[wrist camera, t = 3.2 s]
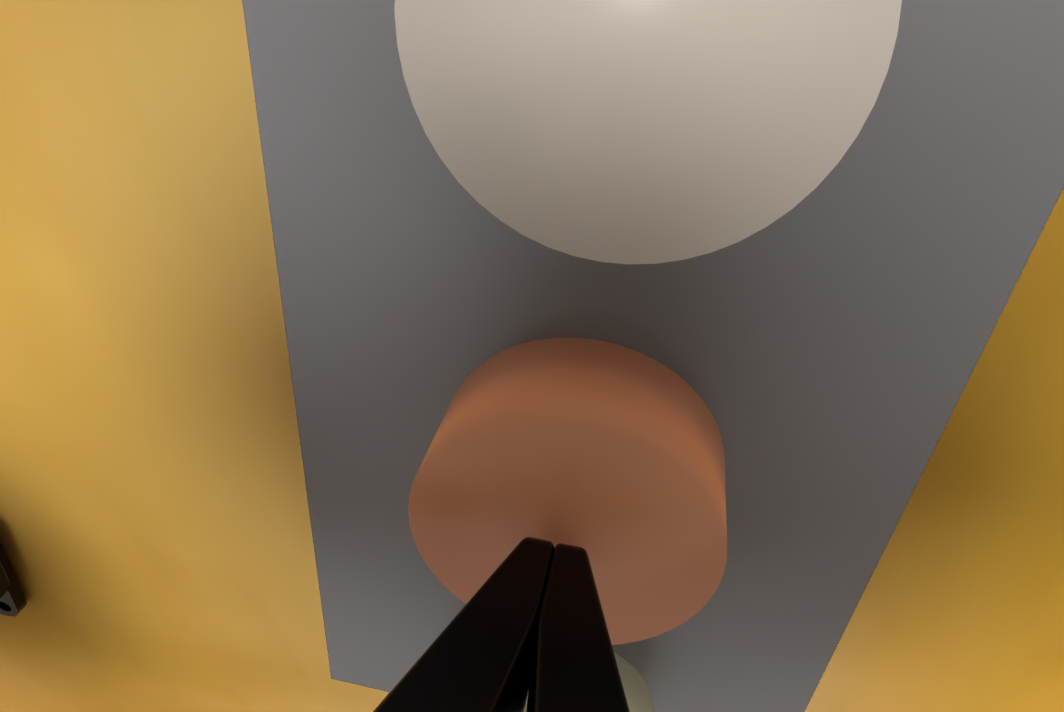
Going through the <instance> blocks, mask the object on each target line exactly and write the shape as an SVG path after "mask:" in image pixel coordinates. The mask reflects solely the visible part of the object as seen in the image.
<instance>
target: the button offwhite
mask: <svg viewBox="0 0 1064 712" xmlns="http://www.w3.org/2000/svg"><path fill="white" fill-rule="evenodd" d="M901 3H902V0H395V8H394V13H395V25H396V37H397V47H398V52H399V57H400V61H401V66H402V71H403V76H404V80H405V83H406V86H407V89H408V92H409V95H410V98H411V101H412V104H413V107H414V109H415V112H416V114H417V116H418V118H419V120H420V123H421V125H422V127H423V129H424V131H425V134H426V135H427V137H428V139H429V140H430V142H431V144H432V145H433V147H434V149H435V150H436V152H437V154H438V155H439V157H440V159H441V160H442V162H443V163H444V164H445V165H446V167H447V168H448V169H449V171H450V172H451V173H452V174H453V176H454V177H455V178H456V180H457V181H458V182H459V183H460V184H461V185H462V186H463V188H464V189H465V190H466V191H467V192H468V193H469V194H470V195H471V196H472V197H473V198H474V199H475V200H476V201H477V202H478V203H479V204H480V205H482V206H483V207H484V208H485V209H487V210H488V211H489V212H490V213H491V214H493V215H494V216H495V217H496V218H498V219H499V220H500V221H502V222H503V223H505V224H506V225H508V226H509V227H511V228H513V229H514V230H516V231H517V232H519V233H520V234H522V235H524V236H526V237H528V238H530V239H532V240H534V241H536V242H538V243H540V244H542V245H544V246H547V247H549V248H552V249H555V250H558V251H560V252H563V253H566V254H569V255H572V256H576V257H580V258H585V259H590V260H594V261H599V262H607V263H618V264H658V263H665V262H672V261H679V260H685V259H689V258H693V257H697V256H700V255H704V254H708V253H712V252H714V251H717V250H719V249H722V248H724V247H727V246H729V245H732V244H735V243H737V242H740V241H741V240H743V239H745V238H747V237H749V236H751V235H753V234H754V233H756V232H758V231H760V230H762V229H764V228H766V227H767V226H769V225H770V224H772V223H773V222H774V221H776V220H777V219H779V218H780V217H782V216H783V215H784V214H786V213H787V212H789V211H790V210H792V209H793V208H794V207H795V206H796V205H797V204H798V203H800V202H801V201H802V200H803V199H804V198H805V197H806V196H808V195H809V194H810V193H811V192H812V191H813V190H814V189H815V188H816V187H817V186H818V185H819V184H820V183H821V182H822V181H823V180H824V179H825V177H826V176H827V175H828V174H829V173H830V172H831V171H832V170H833V169H834V167H835V166H836V165H837V164H838V163H839V161H840V160H841V159H842V157H843V156H844V154H845V153H846V152H847V150H848V149H849V147H850V146H851V144H852V143H853V142H854V140H855V139H856V137H857V136H858V134H859V132H860V131H861V129H862V127H863V125H864V123H865V121H866V119H867V118H868V116H869V114H870V112H871V110H872V108H873V107H874V105H875V102H876V100H877V97H878V95H879V92H880V90H881V87H882V85H883V82H884V80H885V77H886V75H887V72H888V69H889V65H890V61H891V57H892V54H893V50H894V46H895V42H896V38H897V34H898V27H899V19H900V11H901Z"/></svg>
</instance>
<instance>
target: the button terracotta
mask: <svg viewBox="0 0 1064 712" xmlns="http://www.w3.org/2000/svg"><path fill="white" fill-rule="evenodd" d="M408 515H409V524H410V529H411V532H412V536H413V539H414V542H415V544H416V546H417V549H418V551H419V553H420V555H421V557H422V558H423V560H424V561H425V563H426V565H427V566H428V568H429V569H430V570H431V572H432V573H433V574H434V575H435V576H436V578H437V579H438V580H439V581H440V582H441V583H442V584H443V585H444V586H445V587H446V588H447V589H448V590H449V591H450V592H451V593H452V594H453V595H455V596H456V597H457V598H458V599H459V600H461V601H462V602H463V603H464V604H467V603H468V601H469V600H470V599H471V598H472V597H473V596H474V594H475V593H476V592H477V591H478V590H479V589H480V588H481V586H482V585H483V584H484V583H485V582H486V581H487V579H488V578H489V577H490V576H491V575H492V574H493V573H494V571H495V570H496V569H497V568H498V567H499V566H500V564H501V563H502V562H503V561H504V560H505V559H506V557H507V556H508V555H509V554H510V553H511V552H512V551H513V549H514V548H515V547H516V546H517V545H518V544H519V542H520V541H521V540H522V539H524V538H526V537H533V538H538V539H543V540H548V541H551V542H552V543H553V544H554V548H555V546H556V545H557V544H559V543H563V544H568V545H573V546H578V547H582V548H584V549H585V550H586V552H587V554H588V557H589V561H590V565H591V568H592V572H593V576H594V580H595V583H596V587H597V591H598V595H599V598H600V602H601V606H602V610H603V613H604V617H605V621H606V625H607V628H608V632H609V636H610V640H611V643H612V645H617V644H625V643H631V642H636V641H641V640H644V639H648V638H651V637H655V636H658V635H660V634H663V633H665V632H667V631H670V630H672V629H674V628H676V627H677V626H679V625H681V624H683V623H684V622H686V621H687V620H689V619H690V618H691V617H693V616H694V615H695V614H697V613H698V612H699V611H700V610H701V609H702V608H703V607H704V606H705V605H706V604H707V603H708V602H709V600H710V599H711V597H712V596H713V594H714V593H715V591H716V590H717V588H718V586H719V584H720V581H721V579H722V577H723V574H724V570H725V565H726V561H727V525H726V489H725V454H724V448H723V441H722V437H721V434H720V431H719V428H718V425H717V423H716V421H715V419H714V417H713V415H712V413H711V412H710V410H709V408H708V407H707V405H706V404H705V403H704V401H703V400H702V399H701V397H700V396H699V395H698V394H697V393H696V392H695V390H694V389H693V388H692V387H691V386H690V385H689V384H688V383H687V382H686V381H685V380H683V379H682V378H681V377H680V376H678V375H677V374H676V373H675V372H673V371H672V370H671V369H669V368H667V367H666V366H664V365H663V364H661V363H659V362H658V361H656V360H655V359H653V358H650V357H648V356H646V355H644V354H642V353H640V352H638V351H635V350H632V349H629V348H627V347H624V346H621V345H618V344H614V343H609V342H605V341H600V340H595V339H586V338H549V339H541V340H535V341H531V342H527V343H523V344H519V345H516V346H514V347H511V348H508V349H506V350H503V351H501V352H499V353H498V354H496V355H494V356H492V357H490V358H488V359H487V360H486V361H484V362H483V363H482V364H480V365H479V366H478V367H476V368H475V369H474V370H473V371H472V372H471V373H470V374H469V375H468V376H467V377H466V378H465V379H464V381H463V382H462V384H461V385H460V386H459V388H458V389H457V391H456V392H455V395H454V397H453V399H452V401H451V403H450V405H449V407H448V409H447V411H446V413H445V416H444V418H443V420H442V422H441V424H440V426H439V428H438V430H437V432H436V434H435V436H434V439H433V441H432V443H431V445H430V447H429V449H428V451H427V453H426V455H425V457H424V460H423V462H422V464H421V466H420V468H419V470H418V472H417V474H416V477H415V479H414V481H413V483H412V487H411V491H410V495H409V504H408Z"/></svg>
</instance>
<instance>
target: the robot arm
mask: <svg viewBox="0 0 1064 712" xmlns="http://www.w3.org/2000/svg"><path fill="white" fill-rule="evenodd" d="M26 604H27V602H26V599H25V597H24V594H23V592H22V590H21V588H20V586H19V584H18V582H17V580H16V578H15V575H14V573H13V571H12V569H11V567H10V565H9V563H8V561H7V559H6V556H5V554H4V552H3V550H2V548H1V546H0V614H3V615H7V616H16V615H17V614H18V613H19V612H20V611H21V610H22V609H23V608H24V607H25V606H26ZM528 692H529V693H528ZM527 697H528V701H527ZM526 701H527V709H526V712H630V711H629V707H628V703H627V700H626V696H625V692H624V688H623V685H622V681H621V677H620V673H619V670H618V666H617V662H616V658H615V655H614V651H613V647H612V643H611V640H610V636H609V632H608V628H607V625H606V621H605V617H604V613H603V610H602V606H601V602H600V598H599V595H598V591H597V587H596V583H595V580H594V576H593V572H592V568H591V565H590V561H589V557H588V554H587V552H586V550H585V549H584V548H582V547H578V546H573V545H568V544H563V543H559V544H557V545H556V546H555V548H554V544H553V543H552V542H551V541H548V540H543V539H538V538H533V537H526V538H524V539H522V540H521V541H520V542H519V544H518V545H517V546H516V547H515V548H514V549H513V551H512V552H511V553H510V554H509V555H508V556H507V557H506V559H505V560H504V561H503V562H502V563H501V564H500V566H499V567H498V568H497V569H496V570H495V571H494V573H493V574H492V575H491V576H490V577H489V578H488V579H487V581H486V582H485V583H484V584H483V585H482V586H481V588H480V589H479V590H478V591H477V592H476V593H475V594H474V596H473V597H472V598H471V599H470V600H469V601H468V603H467V604H466V605H465V606H464V607H463V608H462V609H461V611H460V612H459V613H458V614H457V615H456V616H455V618H454V619H453V620H452V621H451V622H450V623H449V624H448V626H447V627H446V628H445V629H444V630H443V631H442V633H441V634H440V635H439V636H438V637H437V638H436V640H435V641H434V642H433V643H432V644H431V645H430V646H429V648H428V649H427V650H426V651H425V652H424V653H423V655H422V656H421V657H420V658H419V659H418V660H417V661H416V663H415V664H414V665H413V666H412V667H411V668H410V670H409V671H408V672H407V673H406V674H405V675H404V676H403V678H402V679H401V680H400V681H399V682H398V683H397V685H396V686H395V687H394V688H393V689H392V690H391V691H390V693H389V694H388V695H387V696H386V697H385V698H384V700H383V701H382V702H381V703H380V704H379V705H378V707H377V708H376V709H375V710H374V711H373V712H524V709H525V706H526Z"/></svg>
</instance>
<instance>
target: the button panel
mask: <svg viewBox="0 0 1064 712" xmlns="http://www.w3.org/2000/svg"><path fill="white" fill-rule="evenodd" d="M242 2H243V10H244V18H245V25H246V33H247V40H248V48H249V56H250V63H251V71H252V78H253V86H254V94H255V101H256V109H257V117H258V124H259V132H260V139H261V147H262V155H263V162H264V170H265V177H266V185H267V193H268V200H269V208H270V216H271V223H272V231H273V238H274V246H275V254H276V261H277V269H278V276H279V284H280V292H281V299H282V307H283V315H284V322H285V330H286V337H287V345H288V353H289V360H290V368H291V375H292V383H293V391H294V398H295V406H296V414H297V421H298V429H299V436H300V444H301V452H302V459H303V467H304V474H305V482H306V490H307V497H308V505H309V512H310V520H311V528H312V535H313V543H314V551H315V558H316V566H317V573H318V581H319V589H320V596H321V604H322V611H323V619H324V627H325V634H326V642H327V650H328V657H329V665H330V672H331V679H335V680H339V681H344V682H348V683H352V684H357V685H361V686H365V687H370V688H374V689H378V690H383V691H387V692H390V691H391V690H392V689H393V688H394V687H395V686H396V685H397V683H398V682H399V681H400V680H401V679H402V678H403V676H404V675H405V674H406V673H407V672H408V671H409V670H410V668H411V667H412V666H413V665H414V664H415V663H416V661H417V660H418V659H419V658H420V657H421V656H422V655H423V653H424V652H425V651H426V650H427V649H428V648H429V646H430V645H431V644H432V643H433V642H434V641H435V640H436V638H437V637H438V636H439V635H440V634H441V633H442V631H443V630H444V629H445V628H446V627H447V626H448V624H449V623H450V622H451V621H452V620H453V619H454V618H455V616H456V615H457V614H458V613H459V612H460V611H461V609H462V608H463V607H464V606H465V605H466V604H464V603H463V602H462V601H461V600H459V599H458V598H457V597H456V596H455V595H453V594H452V593H451V592H450V591H449V590H448V589H447V588H446V587H445V586H444V585H443V584H442V583H441V582H440V581H439V580H438V579H437V578H436V576H435V575H434V574H433V573H432V572H431V570H430V569H429V568H428V566H427V565H426V563H425V561H424V560H423V558H422V557H421V555H420V553H419V551H418V549H417V546H416V544H415V542H414V539H413V536H412V532H411V529H410V524H409V515H408V504H409V495H410V491H411V487H412V483H413V481H414V479H415V477H416V474H417V472H418V470H419V468H420V466H421V464H422V462H423V460H424V457H425V455H426V453H427V451H428V449H429V447H430V445H431V443H432V441H433V439H434V436H435V434H436V432H437V430H438V428H439V426H440V424H441V422H442V420H443V418H444V416H445V413H446V411H447V409H448V407H449V405H450V403H451V401H452V399H453V397H454V395H455V392H456V391H457V389H458V388H459V386H460V385H461V384H462V382H463V381H464V379H465V378H466V377H467V376H468V375H469V374H470V373H471V372H472V371H473V370H474V369H475V368H476V367H478V366H479V365H480V364H482V363H483V362H484V361H486V360H487V359H488V358H490V357H492V356H494V355H496V354H498V353H499V352H501V351H503V350H506V349H508V348H511V347H514V346H516V345H519V344H523V343H527V342H531V341H535V340H541V339H549V338H586V339H595V340H600V341H605V342H609V343H614V344H618V345H621V346H624V347H627V348H629V349H632V350H635V351H638V352H640V353H642V354H644V355H646V356H648V357H650V358H653V359H655V360H656V361H658V362H659V363H661V364H663V365H664V366H666V367H667V368H669V369H671V370H672V371H673V372H675V373H676V374H677V375H678V376H680V377H681V378H682V379H683V380H685V381H686V382H687V383H688V384H689V385H690V386H691V387H692V388H693V389H694V390H695V392H696V393H697V394H698V395H699V396H700V397H701V399H702V400H703V401H704V403H705V404H706V405H707V407H708V408H709V410H710V412H711V413H712V415H713V417H714V419H715V421H716V423H717V425H718V428H719V431H720V434H721V437H722V441H723V448H724V454H725V489H726V525H727V561H726V565H725V570H724V574H723V577H722V579H721V581H720V584H719V586H718V588H717V590H716V591H715V593H714V594H713V596H712V597H711V599H710V600H709V602H708V603H707V604H706V605H705V606H704V607H703V608H702V609H701V610H700V611H699V612H698V613H697V614H695V615H694V616H693V617H691V618H690V619H689V620H687V621H686V622H684V623H683V624H681V625H679V626H677V627H676V628H674V629H672V630H670V631H667V632H665V633H663V634H660V635H658V636H655V637H651V638H648V639H644V640H641V641H636V642H631V643H625V644H617V645H612V647H613V651H614V652H615V653H617V654H618V655H620V656H621V657H622V658H624V659H625V660H626V661H627V662H628V663H629V664H631V665H632V666H633V667H634V668H635V669H636V671H637V672H638V673H639V674H640V675H641V676H642V678H643V679H644V681H645V682H646V684H647V686H648V688H649V690H650V692H651V695H652V699H653V705H654V712H805V710H806V707H807V705H808V703H809V701H810V699H811V697H812V695H813V693H814V691H815V689H816V687H817V685H818V683H819V681H820V679H821V677H822V675H823V673H824V671H825V669H826V667H827V665H828V663H829V661H830V659H831V657H832V655H833V653H834V651H835V649H836V647H837V645H838V643H839V641H840V639H841V637H842V635H843V633H844V631H845V629H846V627H847V625H848V623H849V621H850V618H851V616H852V614H853V612H854V610H855V608H856V606H857V604H858V602H859V600H860V598H861V596H862V594H863V592H864V590H865V588H866V586H867V584H868V582H869V580H870V578H871V576H872V574H873V572H874V570H875V568H876V566H877V564H878V562H879V560H880V558H881V556H882V554H883V552H884V550H885V548H886V546H887V544H888V542H889V540H890V538H891V536H892V534H893V532H894V530H895V527H896V525H897V523H898V521H899V519H900V517H901V515H902V513H903V511H904V509H905V507H906V505H907V503H908V501H909V499H910V497H911V495H912V493H913V491H914V489H915V487H916V485H917V483H918V481H919V479H920V477H921V475H922V473H923V471H924V469H925V467H926V465H927V463H928V461H929V459H930V457H931V455H932V453H933V451H934V449H935V447H936V445H937V443H938V441H939V438H940V436H941V434H942V432H943V430H944V428H945V426H946V424H947V422H948V420H949V418H950V416H951V414H952V412H953V410H954V408H955V406H956V404H957V402H958V400H959V398H960V396H961V394H962V392H963V390H964V388H965V386H966V384H967V382H968V380H969V378H970V376H971V374H972V372H973V370H974V368H975V366H976V364H977V362H978V360H979V358H980V356H981V354H982V352H983V350H984V347H985V345H986V343H987V341H988V339H989V337H990V335H991V333H992V331H993V329H994V327H995V325H996V323H997V321H998V319H999V317H1000V315H1001V313H1002V311H1003V309H1004V307H1005V305H1006V303H1007V301H1008V299H1009V297H1010V295H1011V293H1012V291H1013V289H1014V287H1015V285H1016V283H1017V281H1018V279H1019V277H1020V275H1021V273H1022V271H1023V269H1024V267H1025V265H1026V263H1027V261H1028V258H1029V256H1030V254H1031V252H1032V250H1033V248H1034V246H1035V244H1036V242H1037V240H1038V238H1039V236H1040V234H1041V232H1042V230H1043V228H1044V226H1045V224H1046V222H1047V220H1048V218H1049V216H1050V214H1051V212H1052V210H1053V208H1054V206H1055V204H1056V202H1057V200H1058V198H1059V196H1060V194H1061V192H1062V190H1063V188H1064V0H902V3H901V11H900V19H899V27H898V34H897V38H896V42H895V46H894V50H893V54H892V57H891V61H890V65H889V69H888V72H887V75H886V77H885V80H884V82H883V85H882V87H881V90H880V92H879V95H878V97H877V100H876V102H875V105H874V107H873V108H872V110H871V112H870V114H869V116H868V118H867V119H866V121H865V123H864V125H863V127H862V129H861V131H860V132H859V134H858V136H857V137H856V139H855V140H854V142H853V143H852V144H851V146H850V147H849V149H848V150H847V152H846V153H845V154H844V156H843V157H842V159H841V160H840V161H839V163H838V164H837V165H836V166H835V167H834V169H833V170H832V171H831V172H830V173H829V174H828V175H827V176H826V177H825V179H824V180H823V181H822V182H821V183H820V184H819V185H818V186H817V187H816V188H815V189H814V190H813V191H812V192H811V193H810V194H809V195H808V196H806V197H805V198H804V199H803V200H802V201H801V202H800V203H798V204H797V205H796V206H795V207H794V208H793V209H792V210H790V211H789V212H787V213H786V214H784V215H783V216H782V217H780V218H779V219H777V220H776V221H774V222H773V223H772V224H770V225H769V226H767V227H766V228H764V229H762V230H760V231H758V232H756V233H754V234H753V235H751V236H749V237H747V238H745V239H743V240H741V241H740V242H737V243H735V244H732V245H729V246H727V247H724V248H722V249H719V250H717V251H714V252H712V253H708V254H704V255H700V256H697V257H693V258H689V259H685V260H679V261H672V262H665V263H658V264H618V263H607V262H599V261H594V260H590V259H585V258H580V257H576V256H572V255H569V254H566V253H563V252H560V251H558V250H555V249H552V248H549V247H547V246H544V245H542V244H540V243H538V242H536V241H534V240H532V239H530V238H528V237H526V236H524V235H522V234H520V233H519V232H517V231H516V230H514V229H513V228H511V227H509V226H508V225H506V224H505V223H503V222H502V221H500V220H499V219H498V218H496V217H495V216H494V215H493V214H491V213H490V212H489V211H488V210H487V209H485V208H484V207H483V206H482V205H480V204H479V203H478V202H477V201H476V200H475V199H474V198H473V197H472V196H471V195H470V194H469V193H468V192H467V191H466V190H465V189H464V188H463V186H462V185H461V184H460V183H459V182H458V181H457V180H456V178H455V177H454V176H453V174H452V173H451V172H450V171H449V169H448V168H447V167H446V165H445V164H444V163H443V162H442V160H441V159H440V157H439V155H438V154H437V152H436V150H435V149H434V147H433V145H432V144H431V142H430V140H429V139H428V137H427V135H426V134H425V131H424V129H423V127H422V125H421V123H420V120H419V118H418V116H417V114H416V112H415V109H414V107H413V104H412V101H411V98H410V95H409V92H408V89H407V86H406V83H405V80H404V76H403V71H402V66H401V61H400V57H399V52H398V47H397V37H396V25H395V13H394V8H395V0H242Z"/></svg>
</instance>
